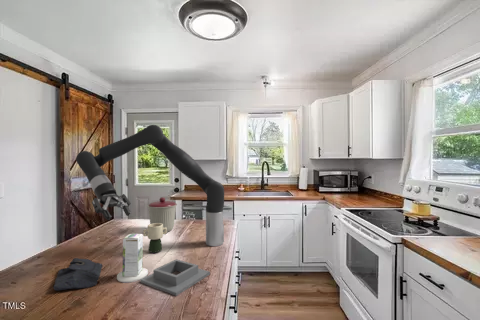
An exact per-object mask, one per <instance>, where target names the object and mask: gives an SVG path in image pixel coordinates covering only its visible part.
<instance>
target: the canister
mask: <svg viewBox="0 0 480 320" xmlns="http://www.w3.org/2000/svg"><path fill="white" fill-rule="evenodd" d="M177 205H178V203H176V202H175V201H172V200H166V198H165V197H164V196H163V197H160V198H159V201H158V200H157V201H152V202H150V203H149V204H147V206H146V207H147V208H148V215H149V216H148V217H149V218H148V219H149V224H153V223H161V224H163V228H165V227H166V228H167V233H169V232H171V231H172V230H173V229H174V227H175V219H176V210H177ZM163 232H165V229H164V230H163Z"/></svg>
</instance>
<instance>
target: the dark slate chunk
mask: <svg viewBox="0 0 480 320" xmlns="http://www.w3.org/2000/svg"><path fill="white" fill-rule="evenodd" d="M69 262H70V263H69V265H68V267H64V268H61V269H59V270H58V273H57V275H56V278H55V280H54V285H53V289H54V291H58V292H59V291H64V290H72V289H73V290H74V289H75V290H76V289H77V290H78V289H87V288H88V289H89V288H91V287H94V286H95V287H96V286H97V284H98V281H99V280H100V279H99V278H100V276H101V272H102V268H103V263H99V262H95V261H92V260H91V259H89V258H78V257H74V258H73V259H72V261H69Z"/></svg>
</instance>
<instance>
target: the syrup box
mask: <svg viewBox="0 0 480 320" xmlns="http://www.w3.org/2000/svg"><path fill="white" fill-rule="evenodd" d="M143 247H144V236H143V234H142V233H129V234H127V235H126V236H125V237H124V238H122V270H121V272H122V276H138V275H139V273H140V272H141V271H142V268H144V267H143V263H144V262H143V260H144V259H143V257H144V255H143V253H144V249H143Z"/></svg>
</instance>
